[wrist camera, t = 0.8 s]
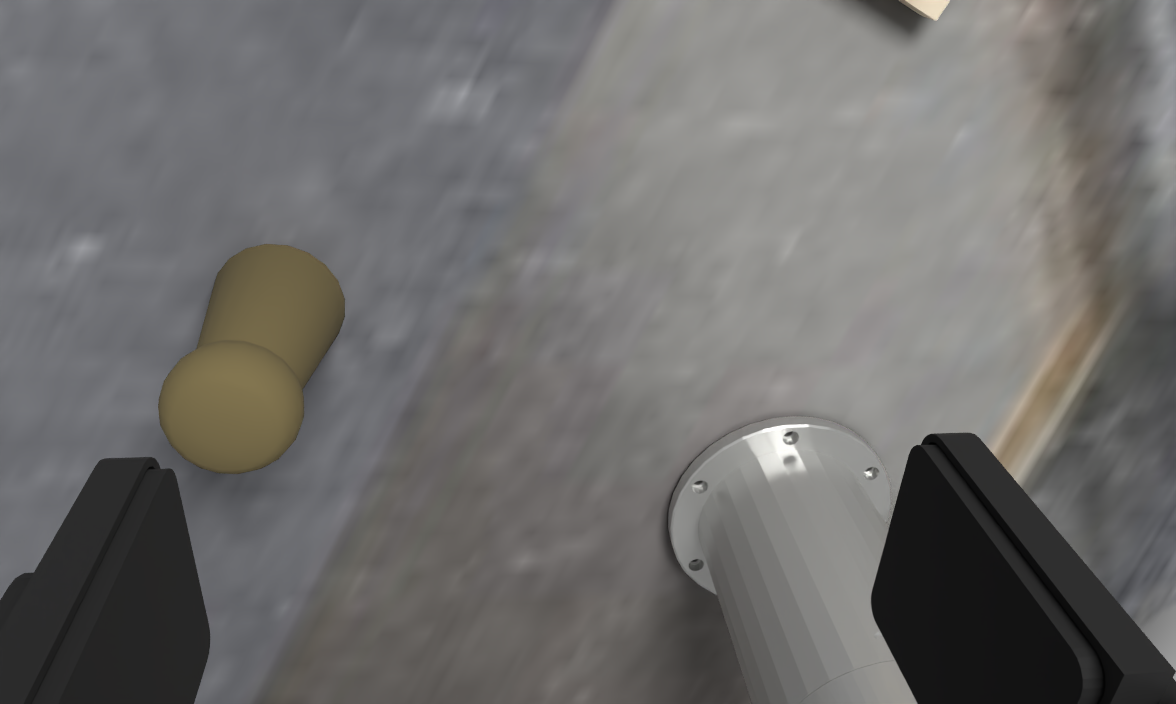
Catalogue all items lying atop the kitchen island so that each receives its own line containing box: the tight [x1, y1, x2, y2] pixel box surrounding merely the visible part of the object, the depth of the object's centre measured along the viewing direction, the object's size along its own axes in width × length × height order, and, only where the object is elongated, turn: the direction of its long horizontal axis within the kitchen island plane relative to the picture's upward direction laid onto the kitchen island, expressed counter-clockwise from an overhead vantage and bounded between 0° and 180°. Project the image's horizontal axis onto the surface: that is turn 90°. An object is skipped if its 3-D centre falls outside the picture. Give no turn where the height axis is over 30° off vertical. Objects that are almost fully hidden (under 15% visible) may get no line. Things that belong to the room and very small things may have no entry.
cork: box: [158, 244, 345, 474], centre depth 38 cm, size 6×6×11 cm
